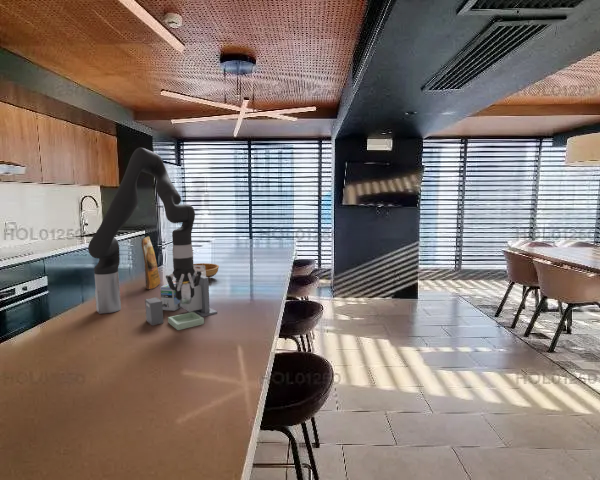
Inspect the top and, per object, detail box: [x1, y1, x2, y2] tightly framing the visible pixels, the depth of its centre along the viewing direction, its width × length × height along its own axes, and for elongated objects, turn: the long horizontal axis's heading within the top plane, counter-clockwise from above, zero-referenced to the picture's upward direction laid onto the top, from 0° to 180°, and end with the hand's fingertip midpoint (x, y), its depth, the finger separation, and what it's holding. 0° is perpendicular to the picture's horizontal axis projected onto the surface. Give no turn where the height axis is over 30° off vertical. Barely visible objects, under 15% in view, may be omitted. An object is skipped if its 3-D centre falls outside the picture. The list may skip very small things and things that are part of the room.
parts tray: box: [167, 311, 205, 331], centre depth 141 cm, size 10×10×2 cm
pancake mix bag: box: [141, 235, 161, 290], centre depth 198 cm, size 7×19×28 cm, turn 5°
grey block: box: [144, 297, 164, 326], centre depth 142 cm, size 5×7×9 cm, turn 39°
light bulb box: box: [159, 280, 182, 312], centre depth 161 cm, size 11×7×11 cm, turn 168°
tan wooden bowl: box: [193, 263, 220, 279], centre depth 212 cm, size 30×24×8 cm
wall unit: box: [181, 275, 218, 318], centre depth 154 cm, size 12×16×16 cm
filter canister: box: [180, 281, 191, 304], centre depth 139 cm, size 4×4×9 cm
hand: (185, 298), depth 140 cm, fingers closed on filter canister, 4 cm apart
